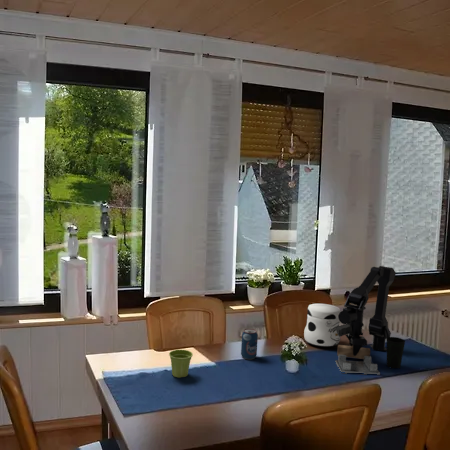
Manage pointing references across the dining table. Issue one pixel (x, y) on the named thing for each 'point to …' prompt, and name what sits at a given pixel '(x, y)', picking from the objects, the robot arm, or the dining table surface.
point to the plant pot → (180, 362)
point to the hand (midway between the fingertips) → (353, 353)
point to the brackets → (357, 365)
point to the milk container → (322, 325)
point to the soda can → (249, 344)
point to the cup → (394, 351)
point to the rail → (349, 351)
